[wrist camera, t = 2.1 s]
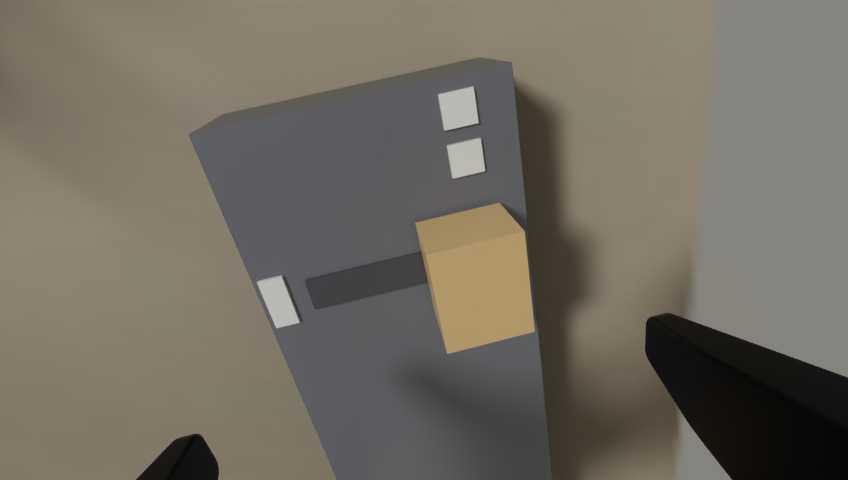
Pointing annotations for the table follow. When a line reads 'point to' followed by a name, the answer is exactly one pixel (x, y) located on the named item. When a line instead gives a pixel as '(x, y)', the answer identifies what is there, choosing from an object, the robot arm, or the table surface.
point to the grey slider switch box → (384, 267)
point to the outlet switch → (477, 276)
